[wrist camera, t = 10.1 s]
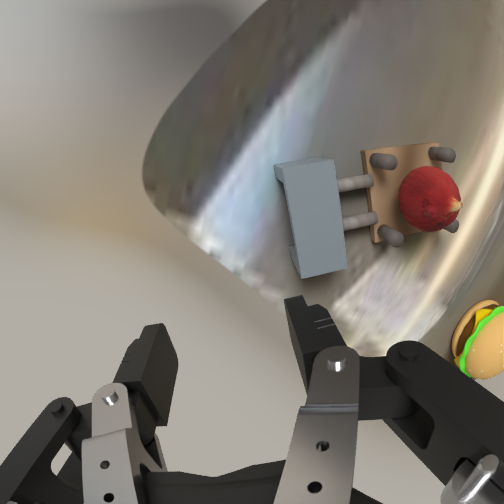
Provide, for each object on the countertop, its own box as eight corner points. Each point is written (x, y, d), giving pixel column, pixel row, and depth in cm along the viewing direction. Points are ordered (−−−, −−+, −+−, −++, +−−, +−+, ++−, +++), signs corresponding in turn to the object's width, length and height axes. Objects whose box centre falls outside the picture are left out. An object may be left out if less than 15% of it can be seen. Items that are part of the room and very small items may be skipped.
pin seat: (433, 142, 27) (456, 144, 23) (439, 223, 30) (460, 233, 26) (321, 156, 27) (335, 158, 23) (334, 248, 30) (348, 262, 26)
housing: (316, 157, 27) (333, 159, 22) (330, 249, 30) (347, 268, 25) (273, 165, 27) (282, 168, 22) (290, 257, 30) (301, 278, 25)
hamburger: (509, 292, 34) (544, 318, 26) (479, 357, 38) (507, 388, 30) (464, 288, 33) (504, 320, 25) (431, 363, 37) (460, 401, 29)
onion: (418, 228, 29) (464, 254, 21) (375, 207, 28) (419, 230, 20) (437, 177, 27) (489, 191, 19) (396, 152, 26) (447, 159, 18)
